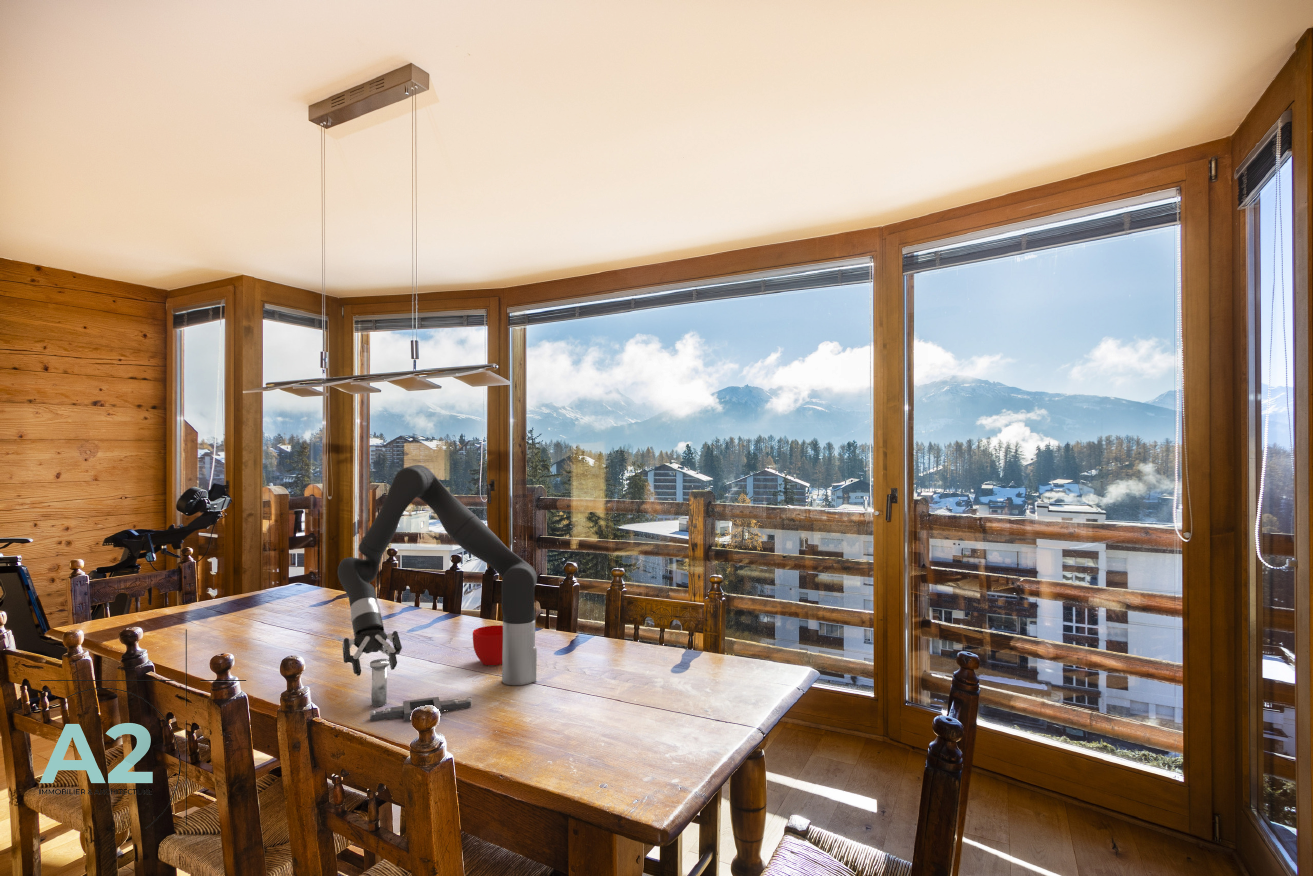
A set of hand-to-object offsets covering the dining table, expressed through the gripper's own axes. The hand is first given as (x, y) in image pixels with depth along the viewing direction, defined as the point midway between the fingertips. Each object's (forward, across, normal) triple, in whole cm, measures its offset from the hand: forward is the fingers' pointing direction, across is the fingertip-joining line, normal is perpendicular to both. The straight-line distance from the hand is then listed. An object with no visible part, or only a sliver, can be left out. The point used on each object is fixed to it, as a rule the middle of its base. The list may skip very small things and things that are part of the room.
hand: (376, 671), depth 170 cm
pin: (+8, 0, +4) cm, 8 cm away
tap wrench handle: (+16, +7, -5) cm, 18 cm away
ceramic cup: (-2, +39, +13) cm, 41 cm away
